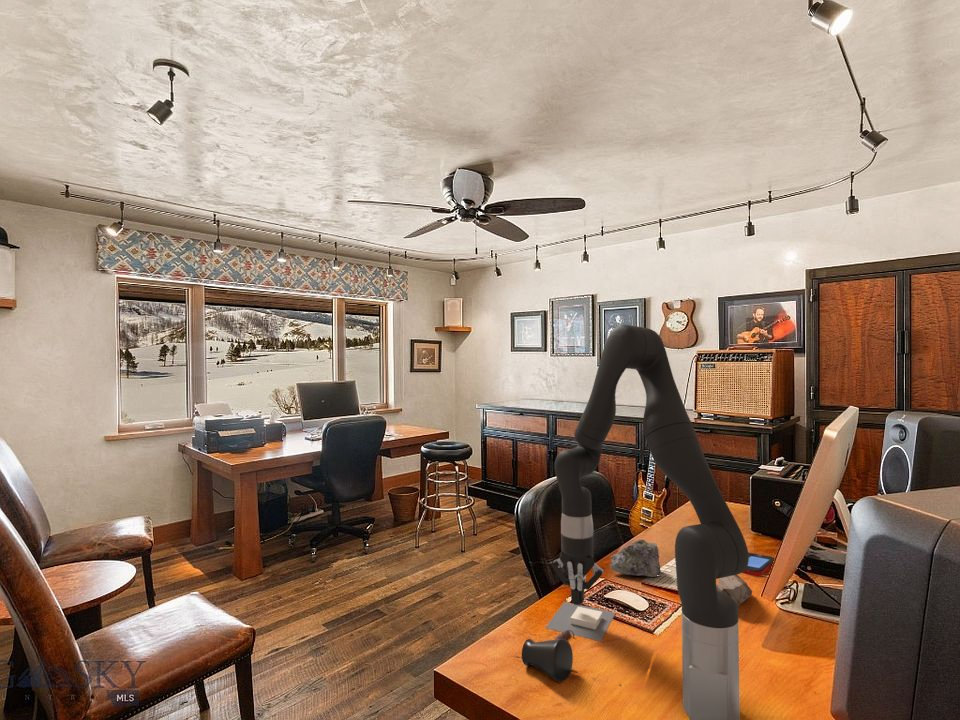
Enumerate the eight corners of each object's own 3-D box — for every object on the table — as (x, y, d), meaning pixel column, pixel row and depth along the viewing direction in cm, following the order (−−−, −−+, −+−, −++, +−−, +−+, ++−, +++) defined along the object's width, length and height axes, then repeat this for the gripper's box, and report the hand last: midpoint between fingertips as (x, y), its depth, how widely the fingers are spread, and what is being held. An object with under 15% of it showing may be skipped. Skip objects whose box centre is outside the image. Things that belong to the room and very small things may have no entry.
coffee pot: (555, 688, 99) (519, 678, 104) (599, 658, 112) (565, 650, 118) (552, 645, 100) (516, 637, 106) (596, 620, 114) (562, 615, 119)
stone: (729, 621, 124) (759, 592, 124) (699, 590, 128) (729, 562, 128) (725, 617, 136) (752, 591, 137) (698, 589, 141) (725, 564, 141)
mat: (600, 643, 114) (600, 641, 114) (545, 629, 120) (545, 627, 120) (615, 614, 127) (615, 612, 127) (564, 603, 133) (564, 601, 133)
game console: (734, 553, 165) (734, 546, 165) (778, 565, 156) (778, 557, 155) (714, 566, 156) (714, 558, 156) (759, 579, 146) (759, 571, 146)
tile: (570, 624, 122) (595, 630, 119) (570, 617, 122) (595, 623, 119) (578, 612, 127) (602, 618, 124) (578, 606, 127) (602, 611, 124)
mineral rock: (608, 574, 150) (607, 540, 150) (621, 562, 159) (620, 529, 159) (653, 585, 142) (653, 549, 142) (664, 571, 151) (664, 537, 151)
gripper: (545, 532, 124) (546, 604, 124) (600, 541, 118) (601, 617, 118) (555, 523, 130) (556, 591, 131) (608, 530, 124) (609, 602, 124)
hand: (578, 603), depth 124 cm, fingers closed
